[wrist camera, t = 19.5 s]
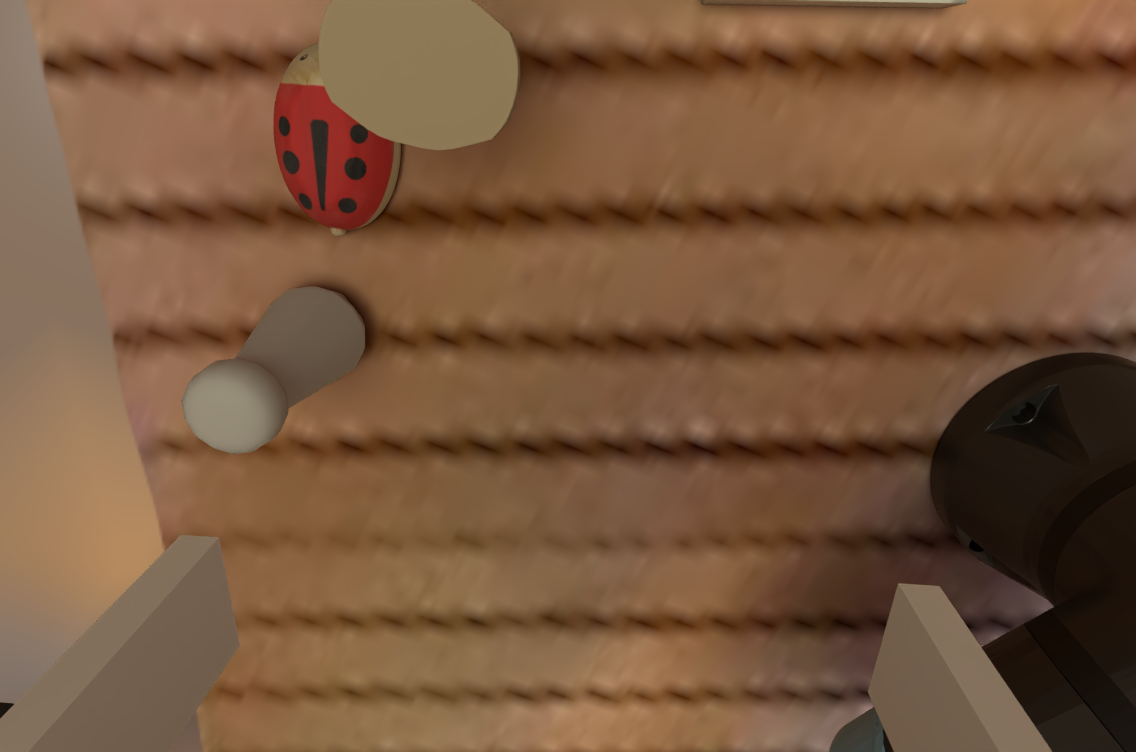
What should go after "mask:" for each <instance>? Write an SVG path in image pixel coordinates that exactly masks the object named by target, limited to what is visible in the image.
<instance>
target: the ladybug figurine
mask: <svg viewBox="0 0 1136 752" xmlns="http://www.w3.org/2000/svg"><path fill="white" fill-rule="evenodd" d="M274 141H275V148H276V154H277V159H278V163H279V166H280V170H281V173H282V175H283V178H284V180H285V183H286V185H287V187H288V189H289V191H290V192H291V194H292V195H293V197H294V199H295V200H296V201H297V203H298V204H299V206H300V207H301V208H302V209H303V210H304V211H305V212H306V213H307V214H308V215H309V216H310V217H311V218H313V219H314V220H316V221H317V222H319V223H321V224H323V225H325V226H328V227H329V228H330V230H331V232H332V234H333V235H335V236H343V235H344V234H345V233H346V232H347V230H353V229H358V228H361V227H364V226H366V225H367V224H369V223H371V222H372V221H373V220H375V219H376V218H377V217H378V216H379V215H380V213H381V212H382V211H383V210H384V208H385V207H386V205H387V204H388V202H389V200H390V198H391V196H392V194H393V191H394V188H395V185H396V182H397V178H398V173H399V167H400V158H401V143H398V142H394V141H391V140H388V139H385V138H383V137H380V136H378V135H376V134H375V133H373V132H371V131H370V130H368V129H366V128H365V127H364V126H362V125H361V124H360V123H358V122H357V121H356V120H354V119H353V118H352V117H350V116H349V115H348V114H347V113H345V112H344V111H343V110H342V109H340V108H339V107H338V106H337V105H335V104H334V103H333V102H331V99H330V97H329V95H328V93H327V91H326V89H325V86H324V83H323V80H322V78H321V72H320V66H319V43H316V44H313V45H311V46H309V47H308V48H306V49H305V50H303V51H302V52H301V53H299V54H298V55H297V56H296V57H295V58H294V60H293V61H292V62H291V63H290V65H289V67H288V68H287V70H286V72H285V74H284V76H283V78H282V80H281V83H280V85H279V88H278V92H277V95H276V101H275V107H274Z"/></svg>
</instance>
